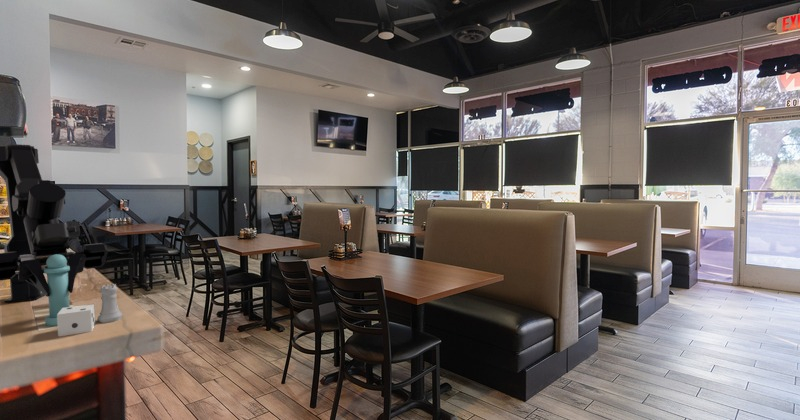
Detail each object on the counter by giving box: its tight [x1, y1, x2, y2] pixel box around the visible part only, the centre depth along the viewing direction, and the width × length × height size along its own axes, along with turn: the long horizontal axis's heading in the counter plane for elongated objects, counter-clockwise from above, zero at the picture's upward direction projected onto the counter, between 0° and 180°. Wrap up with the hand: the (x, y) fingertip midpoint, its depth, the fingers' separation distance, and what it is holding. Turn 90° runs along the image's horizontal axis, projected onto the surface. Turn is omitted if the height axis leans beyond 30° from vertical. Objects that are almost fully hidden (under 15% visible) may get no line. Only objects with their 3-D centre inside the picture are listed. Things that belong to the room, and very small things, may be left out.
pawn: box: [43, 254, 70, 327], centre depth 84 cm, size 5×5×14 cm
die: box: [57, 303, 96, 338], centre depth 80 cm, size 5×5×5 cm
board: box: [31, 299, 75, 332], centre depth 91 cm, size 24×7×1 cm, turn 44°
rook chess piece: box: [97, 283, 124, 324], centre depth 85 cm, size 4×4×8 cm
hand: (60, 293), depth 83 cm, fingers closed on pawn, 3 cm apart
